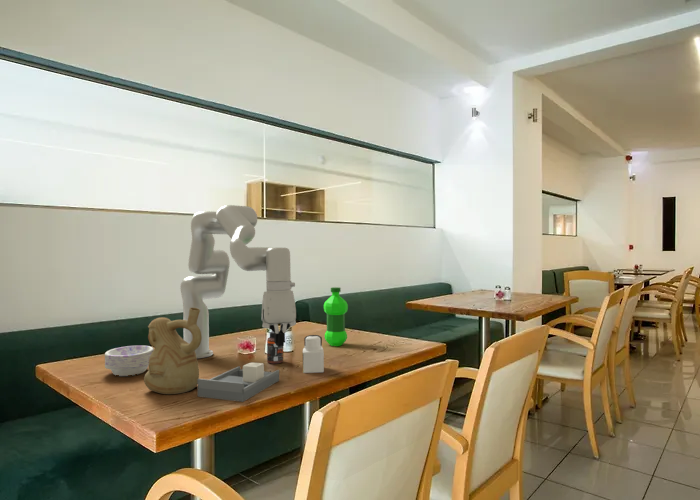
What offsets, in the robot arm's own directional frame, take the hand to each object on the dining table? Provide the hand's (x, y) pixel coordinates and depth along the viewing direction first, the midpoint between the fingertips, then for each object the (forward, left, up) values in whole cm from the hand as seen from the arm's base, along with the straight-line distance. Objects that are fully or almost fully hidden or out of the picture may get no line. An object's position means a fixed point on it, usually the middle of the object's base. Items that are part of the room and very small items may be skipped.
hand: (279, 345), depth 145 cm
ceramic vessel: (-28, -14, -12) cm, 34 cm away
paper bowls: (-55, -4, -12) cm, 57 cm away
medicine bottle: (+4, +18, -12) cm, 22 cm away
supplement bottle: (-14, +24, -12) cm, 31 cm away
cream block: (-6, -6, -10) cm, 13 cm away
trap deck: (-9, -7, -12) cm, 17 cm away
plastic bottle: (-3, +59, -12) cm, 60 cm away
